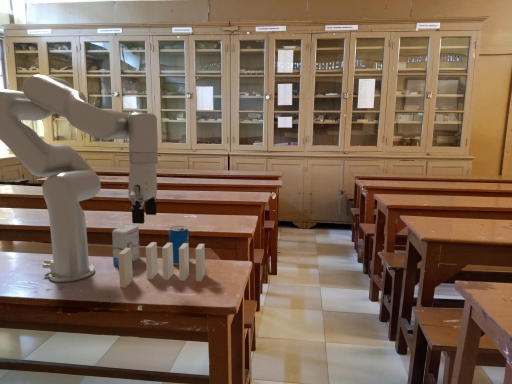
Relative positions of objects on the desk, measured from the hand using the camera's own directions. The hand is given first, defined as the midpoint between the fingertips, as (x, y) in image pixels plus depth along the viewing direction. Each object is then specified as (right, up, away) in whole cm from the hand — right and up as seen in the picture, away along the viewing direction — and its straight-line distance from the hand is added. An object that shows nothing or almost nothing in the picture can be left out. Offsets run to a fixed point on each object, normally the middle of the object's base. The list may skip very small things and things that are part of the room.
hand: (145, 218), depth 99 cm
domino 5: (+15, -19, +7) cm, 25 cm away
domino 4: (+10, -18, +7) cm, 22 cm away
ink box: (-12, -16, +20) cm, 28 cm away
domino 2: (0, -18, +8) cm, 20 cm away
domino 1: (-6, -19, +2) cm, 20 cm away
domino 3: (+5, -18, +8) cm, 20 cm away
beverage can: (+6, -17, +19) cm, 26 cm away
